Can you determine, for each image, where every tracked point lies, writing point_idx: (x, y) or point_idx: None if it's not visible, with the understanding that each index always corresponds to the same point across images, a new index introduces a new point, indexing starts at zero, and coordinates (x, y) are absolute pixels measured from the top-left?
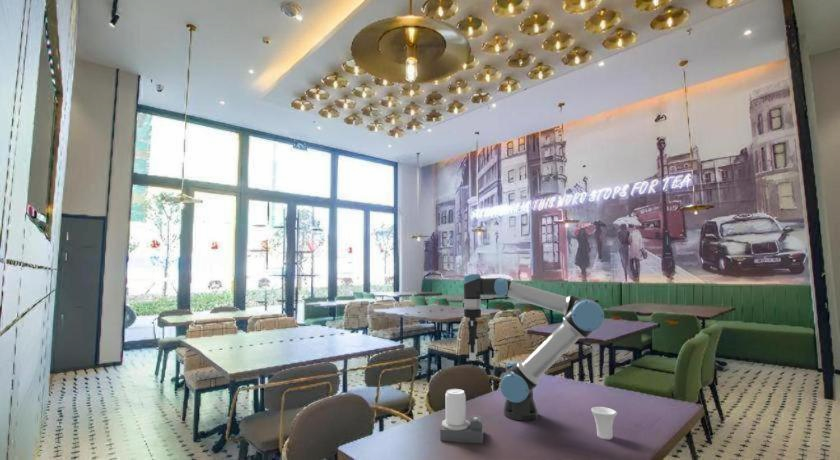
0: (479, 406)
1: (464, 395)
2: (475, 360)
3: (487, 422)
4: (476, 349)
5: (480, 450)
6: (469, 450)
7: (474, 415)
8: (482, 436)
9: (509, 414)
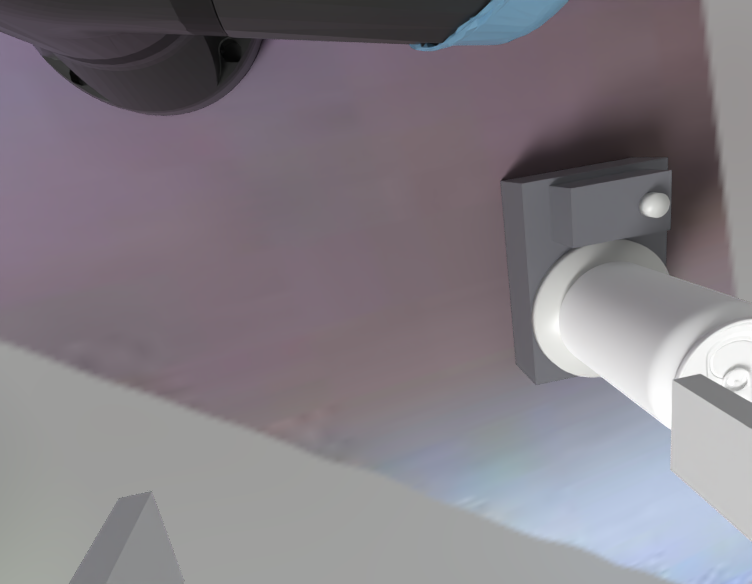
0: (115, 285)
1: (749, 305)
2: (702, 378)
3: (364, 185)
4: (119, 574)
5: (701, 152)
6: (706, 199)
7: (579, 229)
8: (644, 158)
9: (250, 58)
